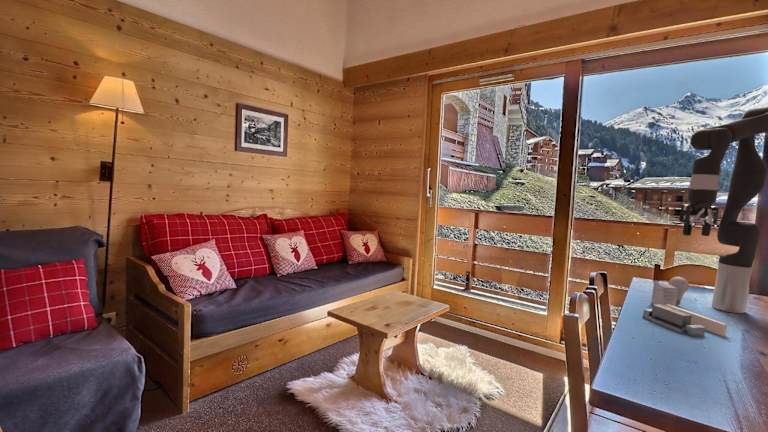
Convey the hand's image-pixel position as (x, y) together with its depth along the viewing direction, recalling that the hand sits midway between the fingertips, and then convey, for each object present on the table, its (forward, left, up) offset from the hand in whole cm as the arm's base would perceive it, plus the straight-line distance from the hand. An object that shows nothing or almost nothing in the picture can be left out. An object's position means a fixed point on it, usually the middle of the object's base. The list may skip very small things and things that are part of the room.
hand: (696, 235), depth 131 cm
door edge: (+7, +8, -28) cm, 30 cm away
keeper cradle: (+16, +8, -28) cm, 33 cm away
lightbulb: (-8, -9, -28) cm, 31 cm away
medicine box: (+1, -7, -28) cm, 29 cm away
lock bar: (+16, +7, -28) cm, 33 cm away
